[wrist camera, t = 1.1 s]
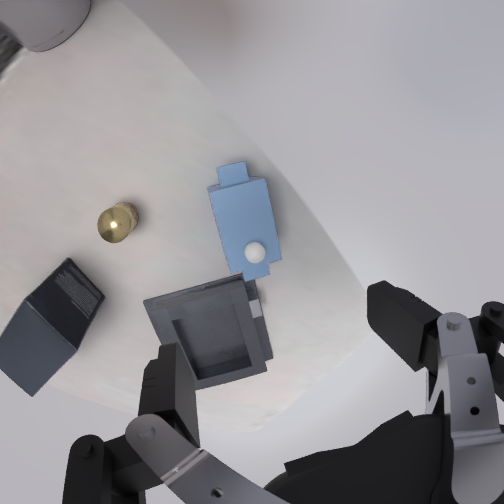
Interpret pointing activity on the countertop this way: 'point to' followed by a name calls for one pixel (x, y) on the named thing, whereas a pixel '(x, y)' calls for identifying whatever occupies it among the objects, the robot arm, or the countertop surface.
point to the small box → (48, 327)
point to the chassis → (214, 329)
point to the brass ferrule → (117, 222)
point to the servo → (244, 221)
